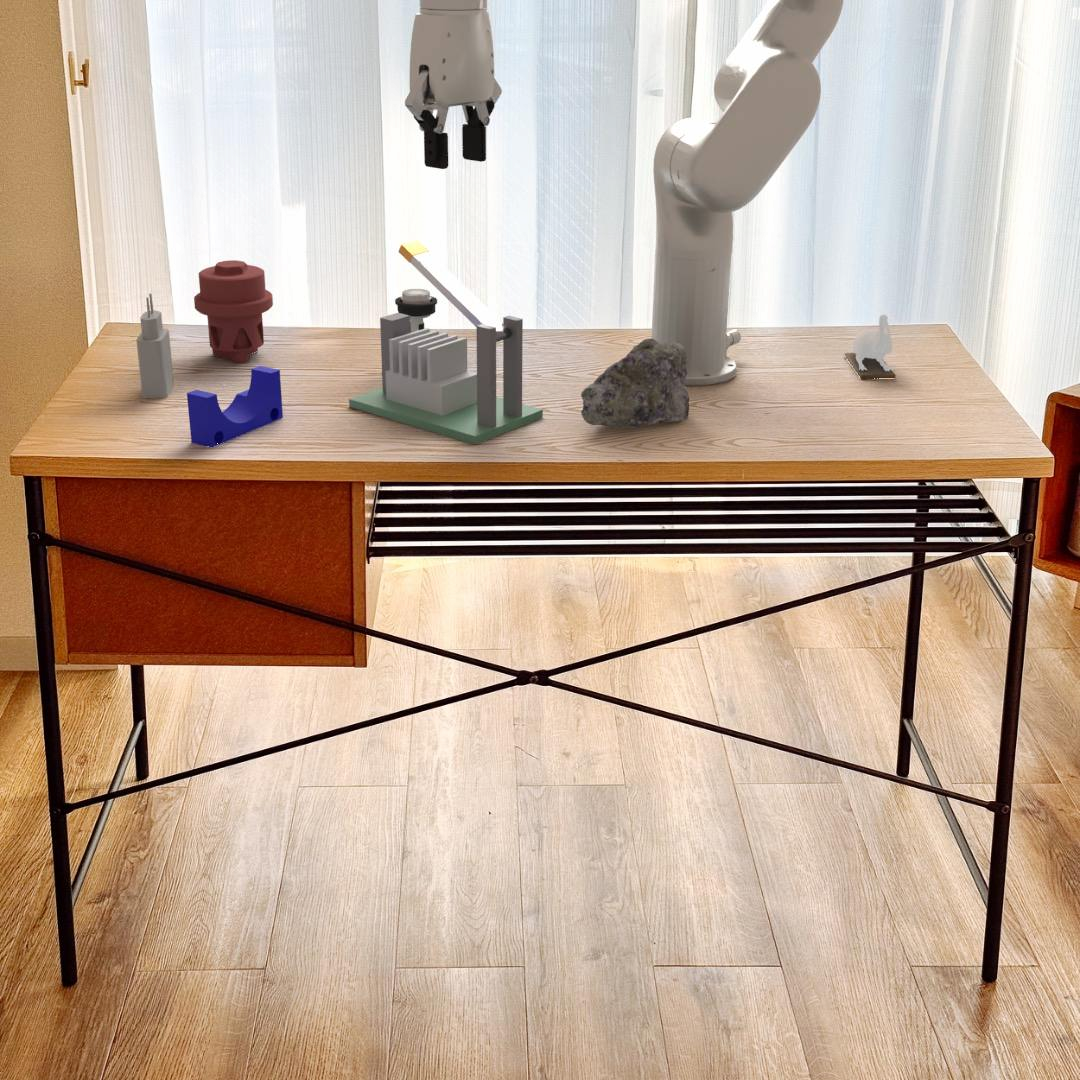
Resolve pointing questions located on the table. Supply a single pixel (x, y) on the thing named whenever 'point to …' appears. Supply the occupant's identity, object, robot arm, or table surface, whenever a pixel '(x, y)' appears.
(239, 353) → the mechanical component
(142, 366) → the power adapter
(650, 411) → the mineral rock
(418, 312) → the push button
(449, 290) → the hinged grey bar
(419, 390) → the board
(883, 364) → the figurine
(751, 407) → the table surface
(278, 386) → the blue cradle bracket
